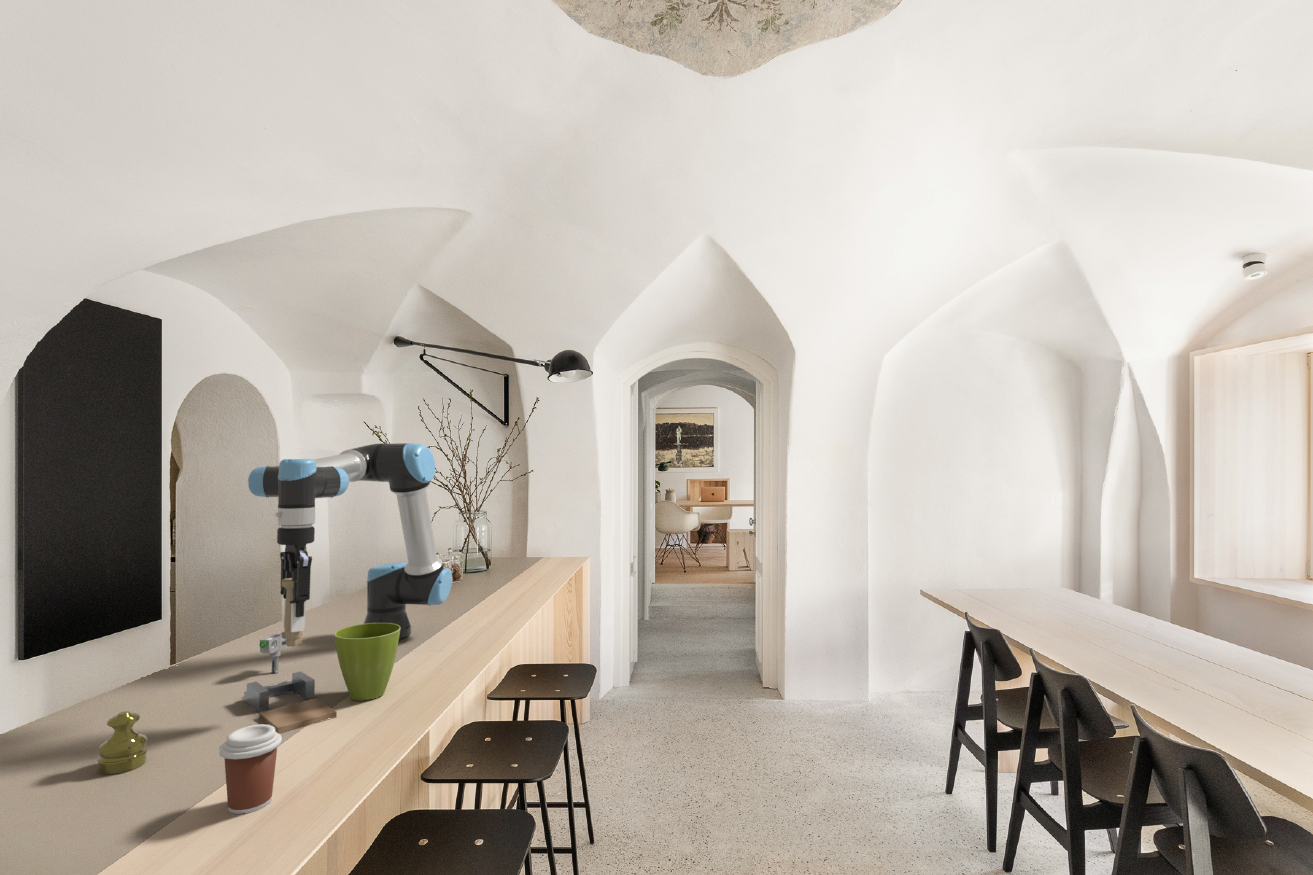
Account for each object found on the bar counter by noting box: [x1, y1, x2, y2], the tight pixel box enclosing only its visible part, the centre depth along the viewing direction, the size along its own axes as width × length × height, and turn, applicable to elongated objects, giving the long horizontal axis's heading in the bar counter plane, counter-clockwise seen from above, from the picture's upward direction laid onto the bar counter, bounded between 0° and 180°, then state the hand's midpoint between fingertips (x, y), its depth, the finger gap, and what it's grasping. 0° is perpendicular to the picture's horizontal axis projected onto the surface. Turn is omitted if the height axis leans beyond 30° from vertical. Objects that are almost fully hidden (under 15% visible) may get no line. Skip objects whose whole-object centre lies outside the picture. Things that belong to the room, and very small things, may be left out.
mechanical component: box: [259, 631, 288, 674], centre depth 179 cm, size 3×10×10 cm, turn 174°
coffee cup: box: [219, 723, 283, 815], centre depth 112 cm, size 9×9×12 cm
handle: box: [282, 578, 304, 647], centre depth 151 cm, size 5×6×15 cm
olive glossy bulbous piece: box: [97, 710, 149, 775], centre depth 126 cm, size 7×7×10 cm
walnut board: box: [258, 697, 338, 734], centre depth 148 cm, size 12×12×1 cm
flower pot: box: [333, 623, 400, 702], centre depth 162 cm, size 15×15×16 cm
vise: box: [243, 671, 316, 713], centre depth 160 cm, size 12×13×4 cm
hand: (294, 628), depth 151 cm, fingers closed on handle, 4 cm apart
